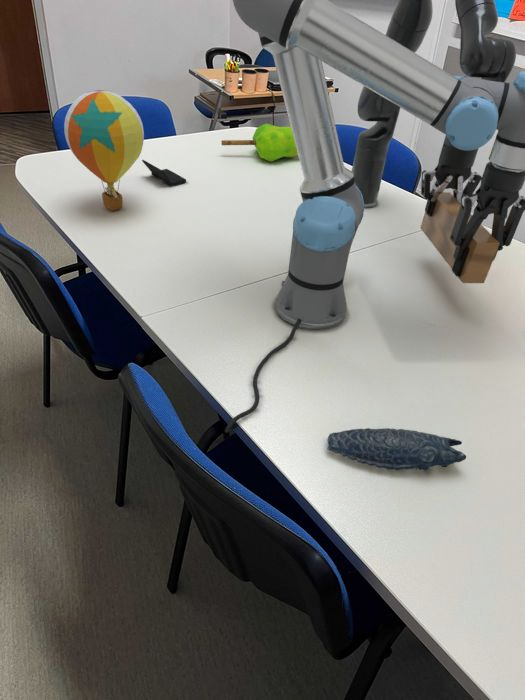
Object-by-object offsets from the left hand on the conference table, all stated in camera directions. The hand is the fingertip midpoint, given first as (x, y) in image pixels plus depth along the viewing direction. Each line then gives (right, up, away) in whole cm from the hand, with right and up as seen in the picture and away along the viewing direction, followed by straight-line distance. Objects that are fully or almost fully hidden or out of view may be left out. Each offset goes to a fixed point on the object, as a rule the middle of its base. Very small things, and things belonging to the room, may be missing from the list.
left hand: (468, 273), depth 112 cm
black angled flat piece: (-75, +37, +53) cm, 99 cm away
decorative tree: (-44, +53, +76) cm, 103 cm away
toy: (-86, +23, +34) cm, 95 cm away
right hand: (-2, +16, +13) cm, 20 cm away
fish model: (-24, -33, -29) cm, 51 cm away
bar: (-1, +6, +8) cm, 10 cm away
